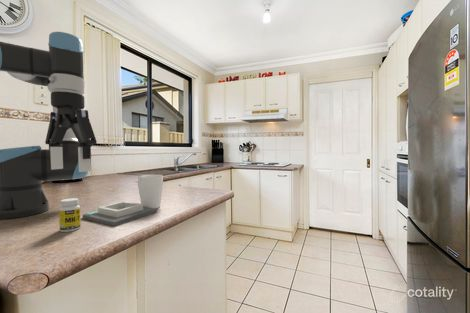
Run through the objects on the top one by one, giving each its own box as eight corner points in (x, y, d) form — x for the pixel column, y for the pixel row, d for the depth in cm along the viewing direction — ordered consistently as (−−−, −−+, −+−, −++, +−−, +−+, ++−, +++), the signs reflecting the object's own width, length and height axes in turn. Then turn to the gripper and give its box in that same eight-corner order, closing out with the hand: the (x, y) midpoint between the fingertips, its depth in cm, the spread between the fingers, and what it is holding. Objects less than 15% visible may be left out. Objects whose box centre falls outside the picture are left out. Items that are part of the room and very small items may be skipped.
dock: (82, 218, 73) (82, 208, 73) (126, 206, 88) (126, 198, 87) (114, 226, 66) (114, 215, 66) (156, 212, 80) (156, 203, 80)
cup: (155, 211, 82) (154, 177, 81) (133, 209, 84) (132, 177, 83) (167, 204, 91) (167, 174, 90) (147, 203, 92) (146, 174, 92)
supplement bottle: (64, 233, 60) (63, 202, 60) (56, 230, 63) (55, 200, 63) (84, 228, 64) (83, 199, 64) (76, 225, 67) (75, 197, 67)
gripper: (28, 95, 65) (31, 169, 66) (80, 84, 54) (83, 174, 55) (58, 99, 71) (60, 167, 72) (110, 91, 60) (112, 171, 61)
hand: (70, 170), depth 63 cm, fingers open, 13 cm apart
